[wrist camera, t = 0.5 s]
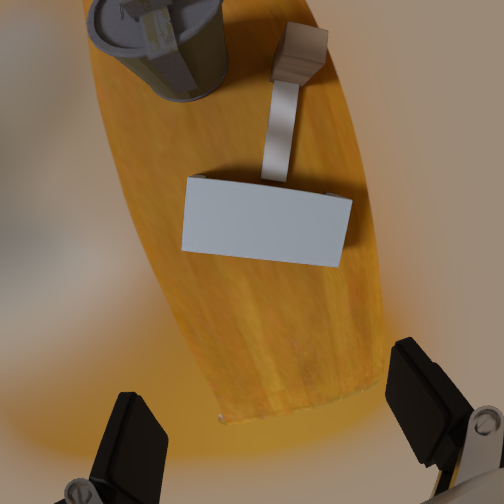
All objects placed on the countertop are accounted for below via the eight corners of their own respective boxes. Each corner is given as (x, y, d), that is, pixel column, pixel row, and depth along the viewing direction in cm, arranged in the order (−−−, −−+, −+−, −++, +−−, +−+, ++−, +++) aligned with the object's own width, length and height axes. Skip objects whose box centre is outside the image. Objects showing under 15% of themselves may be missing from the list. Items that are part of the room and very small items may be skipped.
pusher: (273, 54, 29) (287, 21, 20) (304, 60, 30) (328, 30, 20) (256, 177, 34) (264, 183, 25) (288, 181, 34) (308, 190, 25)
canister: (140, 47, 27) (70, -27, 8) (217, 23, 27) (206, -77, 8) (157, 116, 31) (75, 77, 12) (238, 92, 31) (243, 16, 12)
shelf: (194, 174, 34) (187, 177, 28) (336, 194, 35) (352, 200, 30) (189, 237, 36) (181, 250, 31) (324, 252, 38) (338, 267, 32)
